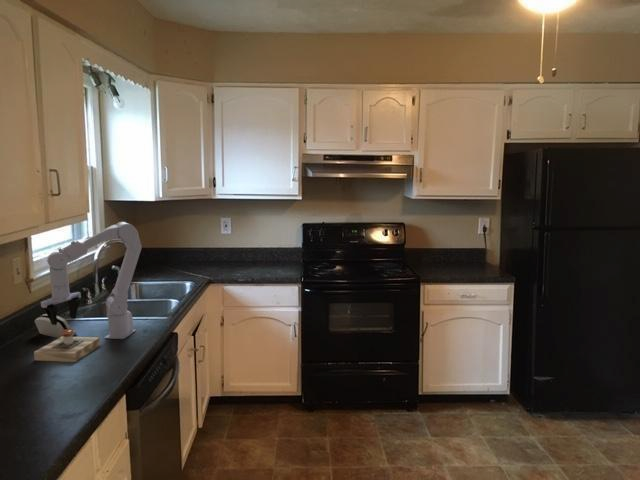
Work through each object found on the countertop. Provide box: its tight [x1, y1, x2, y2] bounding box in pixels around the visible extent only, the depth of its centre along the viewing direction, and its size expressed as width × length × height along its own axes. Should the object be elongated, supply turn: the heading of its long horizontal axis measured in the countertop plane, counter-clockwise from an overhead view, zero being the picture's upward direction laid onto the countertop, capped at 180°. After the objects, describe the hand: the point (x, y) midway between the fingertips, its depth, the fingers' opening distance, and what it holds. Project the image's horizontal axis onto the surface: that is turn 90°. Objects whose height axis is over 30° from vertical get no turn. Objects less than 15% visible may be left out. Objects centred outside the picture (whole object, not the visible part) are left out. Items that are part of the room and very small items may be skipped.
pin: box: [61, 328, 75, 347], centre depth 174 cm, size 4×4×8 cm
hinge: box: [34, 313, 79, 339], centre depth 193 cm, size 17×5×10 cm, turn 62°
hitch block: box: [33, 336, 101, 363], centre depth 175 cm, size 15×15×3 cm
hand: (63, 321), depth 180 cm, fingers open, 7 cm apart
